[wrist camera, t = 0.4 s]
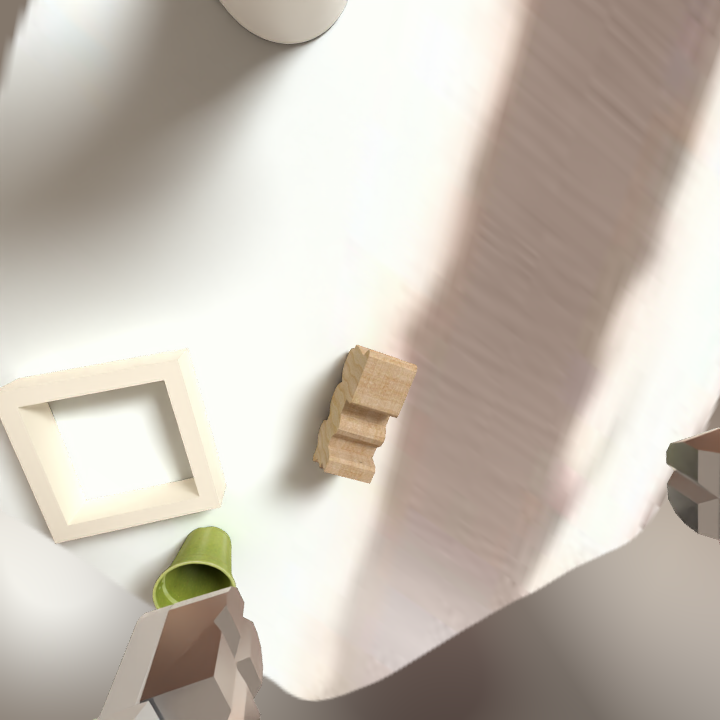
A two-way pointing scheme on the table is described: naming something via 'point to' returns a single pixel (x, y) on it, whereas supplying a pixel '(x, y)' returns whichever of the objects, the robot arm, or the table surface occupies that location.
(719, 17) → the table surface
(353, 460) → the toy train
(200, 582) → the plant pot
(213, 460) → the cream open tray
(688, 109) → the table surface
